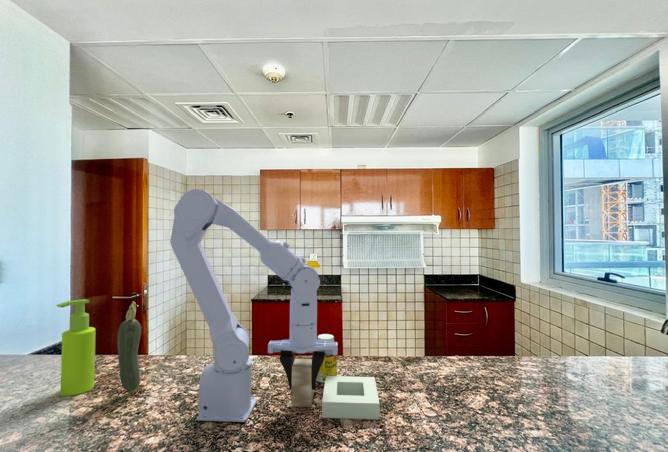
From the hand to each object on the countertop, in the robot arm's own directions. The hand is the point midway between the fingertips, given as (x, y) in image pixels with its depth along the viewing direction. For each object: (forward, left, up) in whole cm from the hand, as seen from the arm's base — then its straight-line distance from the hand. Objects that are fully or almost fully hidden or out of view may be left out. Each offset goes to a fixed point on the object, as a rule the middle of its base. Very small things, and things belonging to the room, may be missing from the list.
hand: (302, 387), depth 66 cm
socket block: (+10, 0, -3) cm, 10 cm away
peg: (0, 0, -3) cm, 3 cm away
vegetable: (-38, +1, -3) cm, 39 cm away
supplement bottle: (+4, +11, -3) cm, 12 cm away
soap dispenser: (-51, +2, -3) cm, 52 cm away
